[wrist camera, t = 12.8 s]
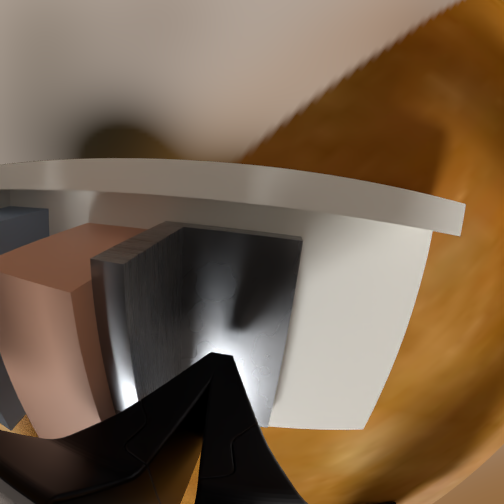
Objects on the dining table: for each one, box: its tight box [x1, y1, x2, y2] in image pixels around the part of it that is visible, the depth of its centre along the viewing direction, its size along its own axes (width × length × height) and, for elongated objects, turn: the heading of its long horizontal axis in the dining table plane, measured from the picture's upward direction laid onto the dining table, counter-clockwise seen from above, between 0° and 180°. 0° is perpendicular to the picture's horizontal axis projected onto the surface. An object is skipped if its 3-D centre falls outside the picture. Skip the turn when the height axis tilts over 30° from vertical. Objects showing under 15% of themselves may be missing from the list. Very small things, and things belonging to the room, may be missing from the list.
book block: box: [0, 223, 148, 439], centre depth 8 cm, size 7×4×6 cm, turn 174°
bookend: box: [90, 221, 303, 427], centre depth 8 cm, size 8×4×4 cm, turn 174°
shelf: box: [0, 158, 466, 430], centre depth 9 cm, size 11×19×6 cm, turn 84°
